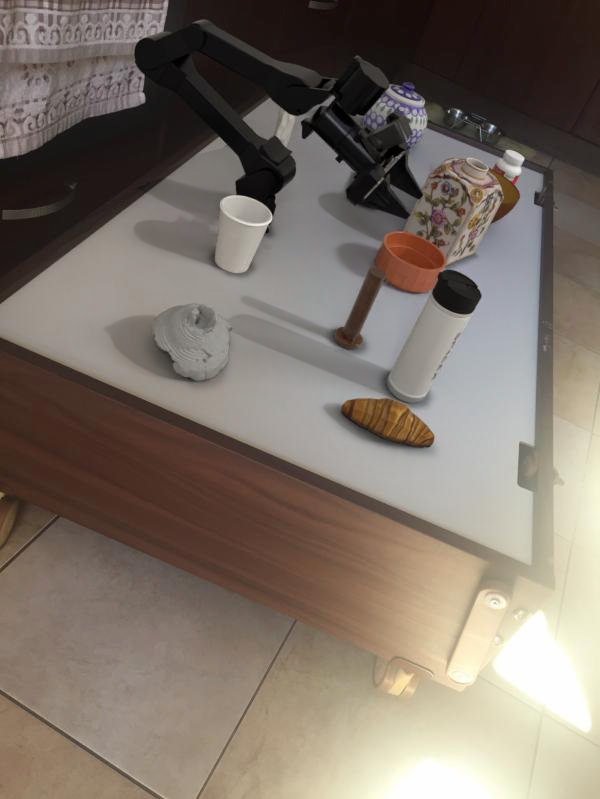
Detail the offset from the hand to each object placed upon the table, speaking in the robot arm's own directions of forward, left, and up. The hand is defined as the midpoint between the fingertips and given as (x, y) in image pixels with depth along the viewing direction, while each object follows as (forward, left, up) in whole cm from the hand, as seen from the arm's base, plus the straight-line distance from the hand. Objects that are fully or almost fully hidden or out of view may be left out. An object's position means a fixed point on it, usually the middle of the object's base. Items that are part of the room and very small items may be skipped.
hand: (415, 206), depth 119 cm
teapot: (+20, +62, -16) cm, 67 cm away
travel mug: (-4, -27, -16) cm, 31 cm away
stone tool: (-12, +42, -16) cm, 47 cm away
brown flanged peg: (-11, -17, -16) cm, 25 cm away
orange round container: (+6, +4, -16) cm, 17 cm away
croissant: (-10, -36, -16) cm, 40 cm away
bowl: (+28, +29, -16) cm, 43 cm away
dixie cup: (-27, 0, -16) cm, 31 cm away
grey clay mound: (-36, -24, -16) cm, 46 cm away
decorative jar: (+18, +17, -16) cm, 29 cm away
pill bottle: (+43, +44, -16) cm, 64 cm away
